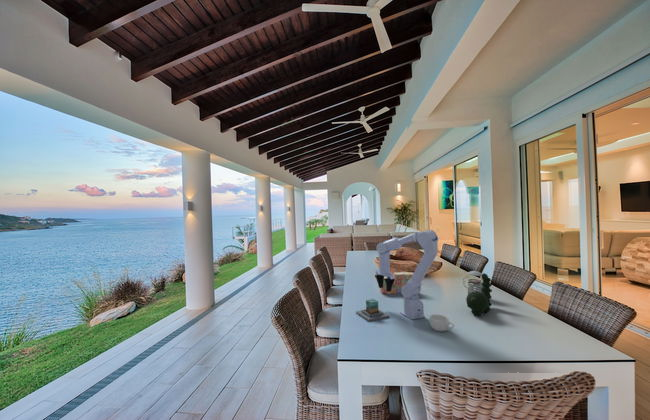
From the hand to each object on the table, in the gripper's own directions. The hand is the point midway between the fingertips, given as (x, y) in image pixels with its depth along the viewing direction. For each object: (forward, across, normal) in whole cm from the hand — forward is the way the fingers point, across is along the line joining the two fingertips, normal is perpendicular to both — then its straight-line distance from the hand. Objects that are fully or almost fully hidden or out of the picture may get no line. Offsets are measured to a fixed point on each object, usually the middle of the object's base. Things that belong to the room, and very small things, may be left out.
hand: (384, 289), depth 151 cm
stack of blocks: (+10, -20, +23) cm, 32 cm away
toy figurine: (+10, +26, +40) cm, 49 cm away
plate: (+10, +6, -12) cm, 17 cm away
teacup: (+10, +34, +6) cm, 36 cm away
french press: (+10, +8, +57) cm, 58 cm away
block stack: (+9, +6, -12) cm, 16 cm away
